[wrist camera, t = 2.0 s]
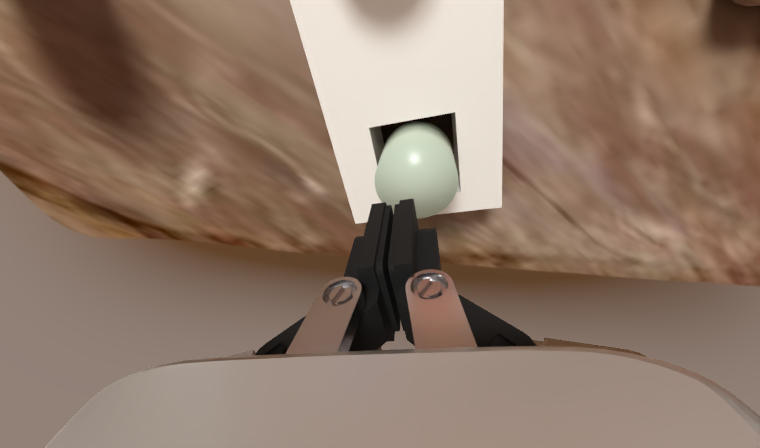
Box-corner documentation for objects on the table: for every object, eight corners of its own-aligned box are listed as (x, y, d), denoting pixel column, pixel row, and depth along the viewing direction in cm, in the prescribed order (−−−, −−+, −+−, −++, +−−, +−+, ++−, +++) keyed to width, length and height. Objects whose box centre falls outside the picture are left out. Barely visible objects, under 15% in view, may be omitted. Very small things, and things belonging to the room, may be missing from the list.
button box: (484, -252, 13) (506, -352, 9) (490, 181, 23) (501, 207, 20) (270, -162, 15) (226, -217, 11) (364, 197, 25) (355, 223, 22)
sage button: (449, 115, 18) (455, 135, 14) (454, 182, 20) (460, 214, 17) (376, 128, 18) (366, 150, 15) (389, 191, 21) (383, 222, 17)
